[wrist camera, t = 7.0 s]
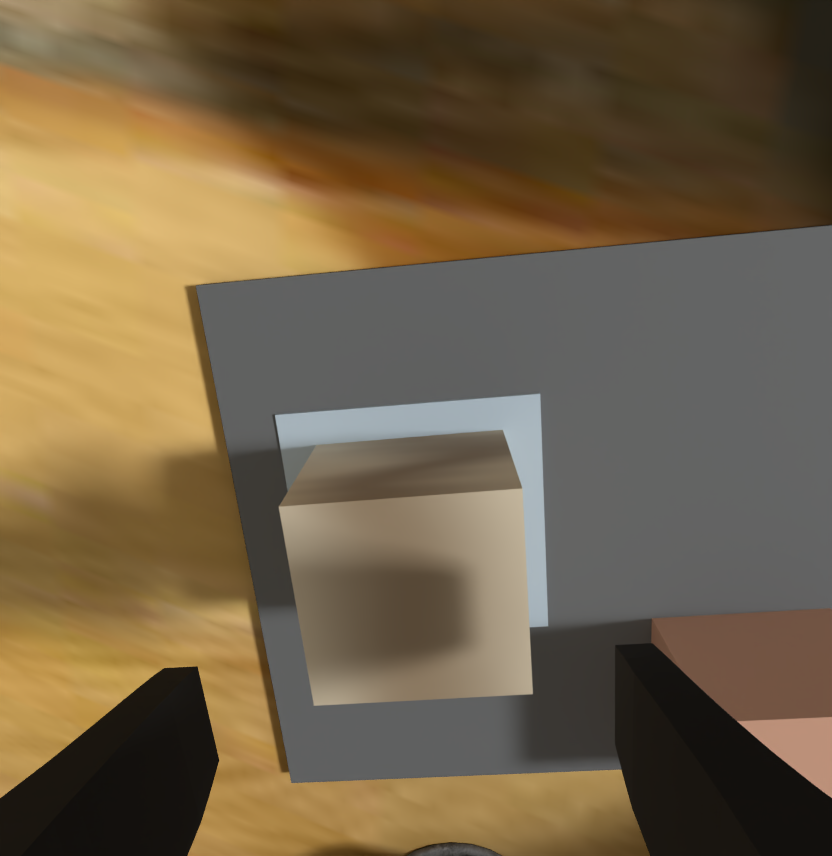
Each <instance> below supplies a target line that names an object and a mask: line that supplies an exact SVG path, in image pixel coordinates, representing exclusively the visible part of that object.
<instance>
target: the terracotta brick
mask: <svg viewBox="0 0 832 856" xmlns="http://www.w3.org/2000/svg"><path fill="white" fill-rule="evenodd" d="M651 643H653V644H654V645H655V646H656V647H657V648H658V649H659V650H661V651H662V652H663V653H664V654H665V655H666V656H667V657H668V658H669V659H670V660H671V661H672V662H673V663H674V664H675V665H677V666H678V667H679V668H680V669H681V670H682V671H683V672H684V673H685V674H686V675H687V676H688V677H689V678H690V679H691V680H692V681H693V682H695V683H696V684H697V685H698V686H699V687H700V688H701V689H702V690H703V691H704V692H705V693H706V694H707V695H709V696H710V697H711V698H712V699H713V700H714V701H715V702H716V703H717V704H718V705H719V706H721V707H722V708H723V709H724V710H725V711H726V712H727V713H728V714H729V715H731V716H732V717H733V718H734V719H735V720H736V721H737V722H739V723H740V724H741V725H742V726H743V727H744V728H746V729H747V730H748V731H749V732H750V733H751V734H752V735H754V736H755V737H756V738H757V739H758V740H759V741H760V742H762V743H763V744H764V745H765V746H766V747H768V748H769V749H770V750H771V751H772V752H774V753H775V754H776V755H777V756H778V757H780V758H781V759H782V760H783V761H785V762H786V763H787V764H788V765H790V766H791V767H792V768H794V769H795V770H796V771H797V772H799V773H800V774H801V775H802V776H804V777H805V778H806V779H807V780H809V781H810V782H811V783H812V784H814V785H815V786H816V787H818V788H819V789H820V790H822V791H823V792H824V793H826V794H827V795H828V796H830V797H831V798H832V609H831V608H826V609H809V610H791V611H773V612H755V613H738V614H720V615H702V616H685V617H667V618H652V631H651Z"/></svg>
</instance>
